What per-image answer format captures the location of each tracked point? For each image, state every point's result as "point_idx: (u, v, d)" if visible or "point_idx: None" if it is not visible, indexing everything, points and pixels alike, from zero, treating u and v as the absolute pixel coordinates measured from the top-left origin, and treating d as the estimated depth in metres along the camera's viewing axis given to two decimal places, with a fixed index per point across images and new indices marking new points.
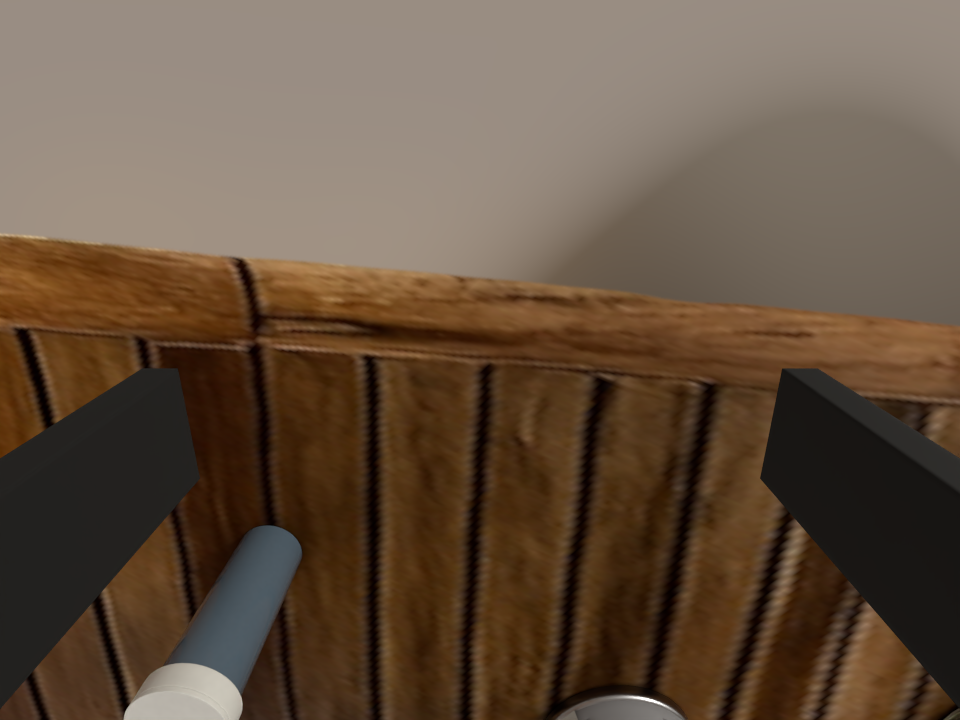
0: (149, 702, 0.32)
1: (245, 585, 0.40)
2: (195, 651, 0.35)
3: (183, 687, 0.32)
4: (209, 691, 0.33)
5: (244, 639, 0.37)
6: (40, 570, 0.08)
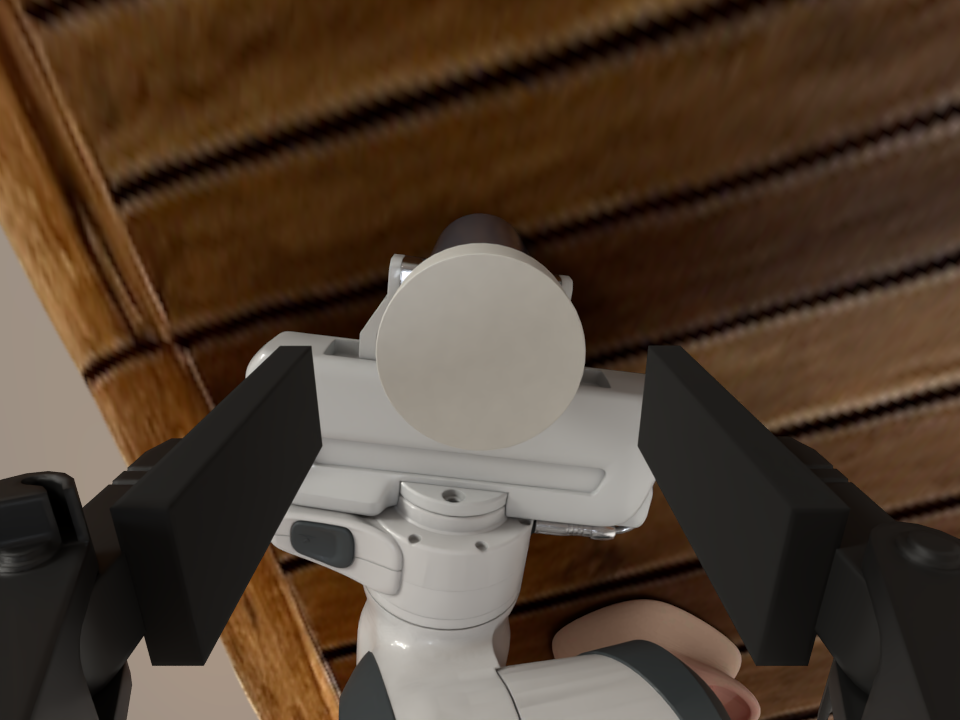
0: (423, 414, 0.17)
1: None
2: None
3: None
4: None
5: None
6: (246, 508, 0.10)
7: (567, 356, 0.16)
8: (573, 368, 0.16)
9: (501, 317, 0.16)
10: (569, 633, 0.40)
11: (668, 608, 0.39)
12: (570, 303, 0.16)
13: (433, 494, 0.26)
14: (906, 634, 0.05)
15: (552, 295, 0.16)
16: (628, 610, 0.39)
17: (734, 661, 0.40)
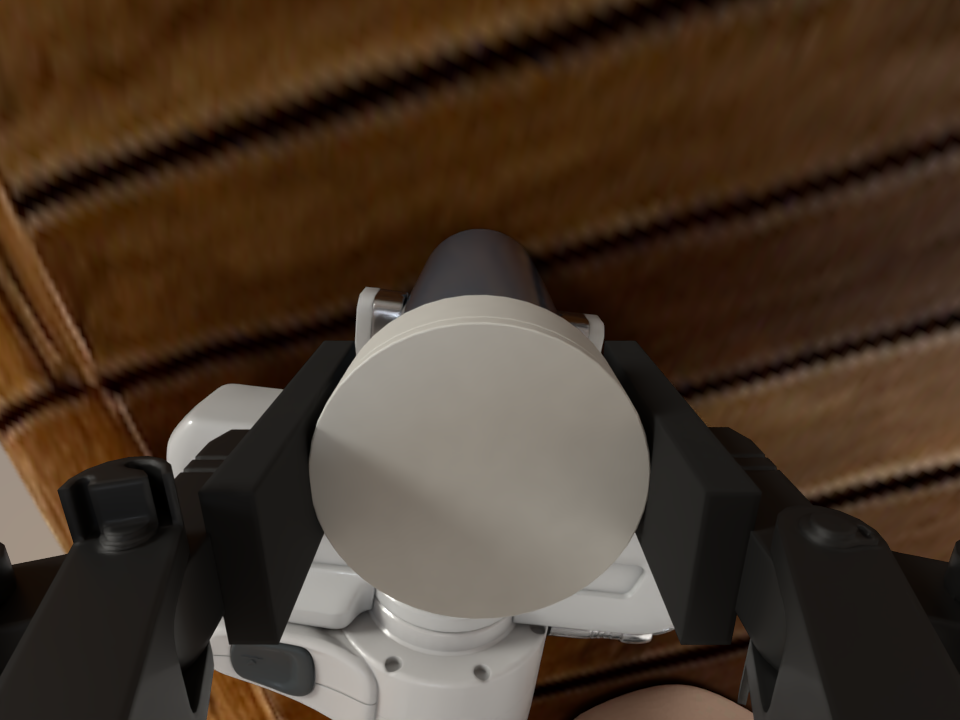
0: (388, 567, 0.11)
1: None
2: None
3: None
4: None
5: None
6: (308, 496, 0.10)
7: (620, 483, 0.10)
8: (630, 501, 0.10)
9: (513, 424, 0.10)
10: None
11: (704, 695, 0.33)
12: (628, 402, 0.09)
13: None
14: (806, 613, 0.06)
15: (599, 390, 0.09)
16: (657, 698, 0.33)
17: None
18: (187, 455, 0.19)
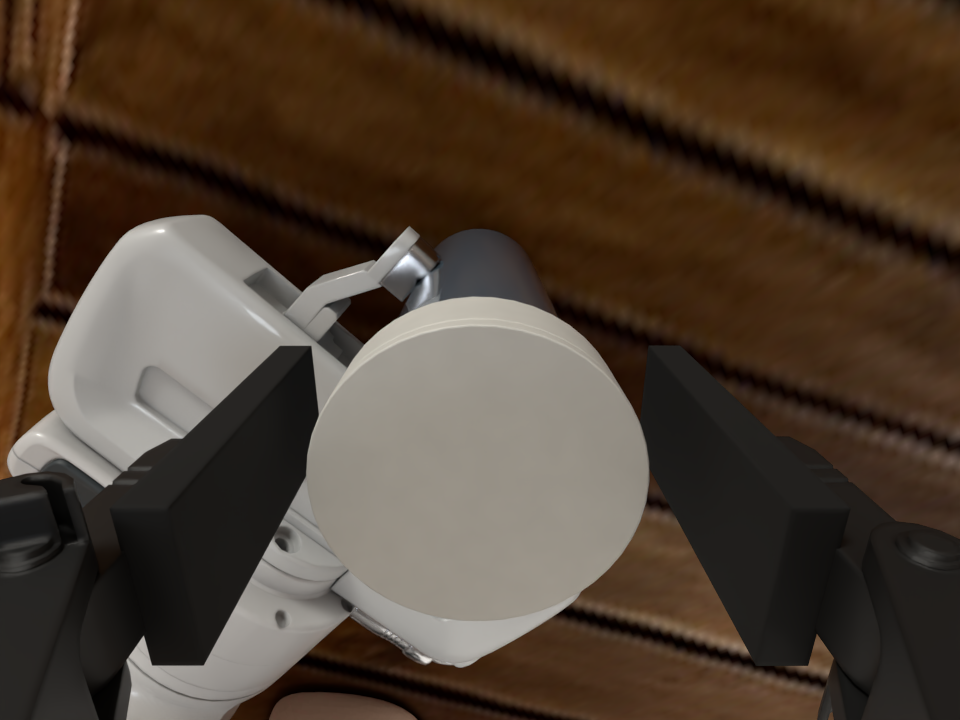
0: (506, 596, 0.11)
1: (414, 287, 0.18)
2: None
3: None
4: None
5: (449, 284, 0.14)
6: (246, 508, 0.10)
7: (558, 377, 0.09)
8: (583, 379, 0.09)
9: (435, 430, 0.10)
10: (303, 703, 0.33)
11: None
12: (478, 326, 0.09)
13: None
14: (906, 634, 0.05)
15: (447, 345, 0.09)
16: (378, 711, 0.33)
17: None
18: (139, 259, 0.17)
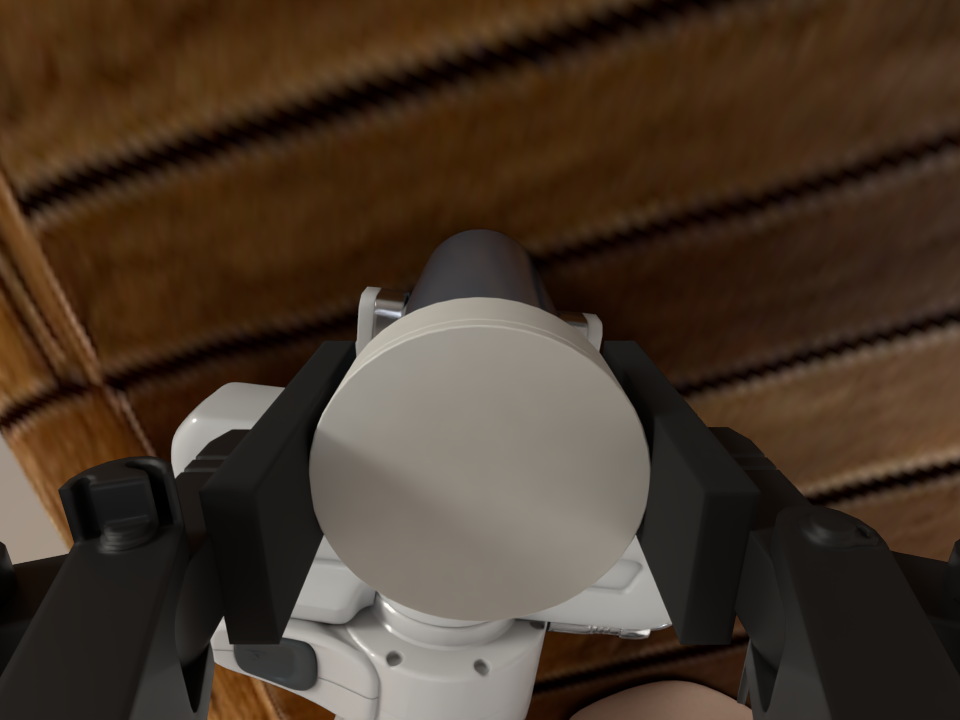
0: (579, 563, 0.11)
1: None
2: None
3: None
4: None
5: None
6: (308, 496, 0.10)
7: (467, 356, 0.09)
8: (489, 344, 0.09)
9: (407, 464, 0.10)
10: (585, 719, 0.34)
11: (703, 691, 0.33)
12: (371, 361, 0.09)
13: None
14: (806, 613, 0.06)
15: (360, 392, 0.09)
16: (656, 694, 0.33)
17: None
18: (191, 452, 0.19)
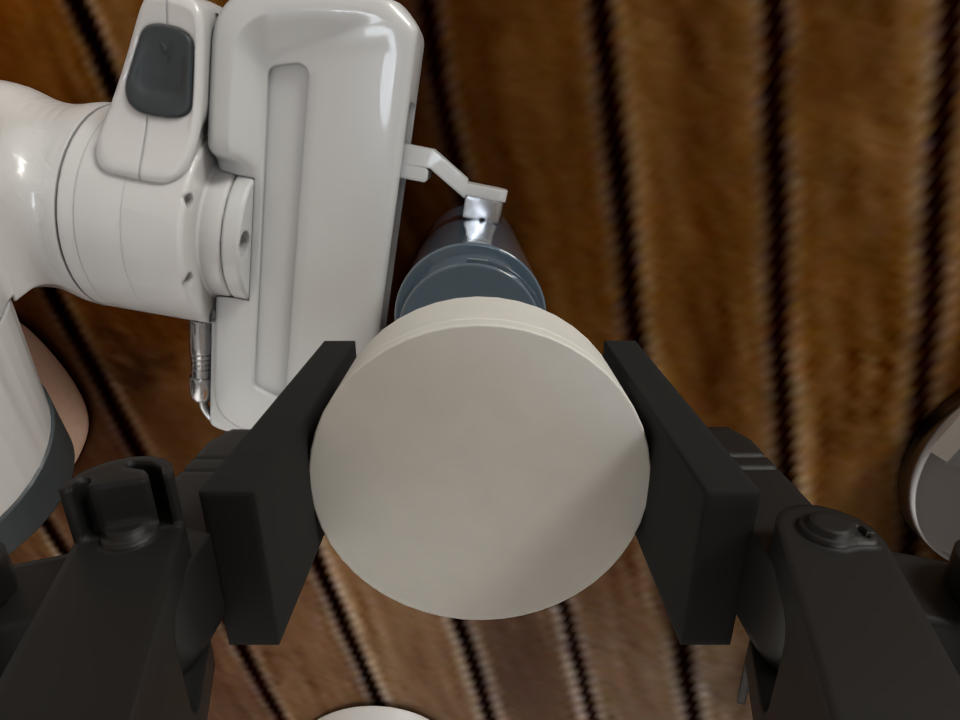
0: (579, 561, 0.11)
1: None
2: (452, 240, 0.19)
3: None
4: None
5: (515, 247, 0.21)
6: (308, 496, 0.10)
7: (467, 355, 0.09)
8: (489, 343, 0.09)
9: (407, 463, 0.10)
10: None
11: (80, 438, 0.35)
12: (371, 360, 0.09)
13: (244, 221, 0.23)
14: (806, 613, 0.06)
15: (360, 391, 0.09)
16: (70, 399, 0.34)
17: None
18: (384, 22, 0.21)
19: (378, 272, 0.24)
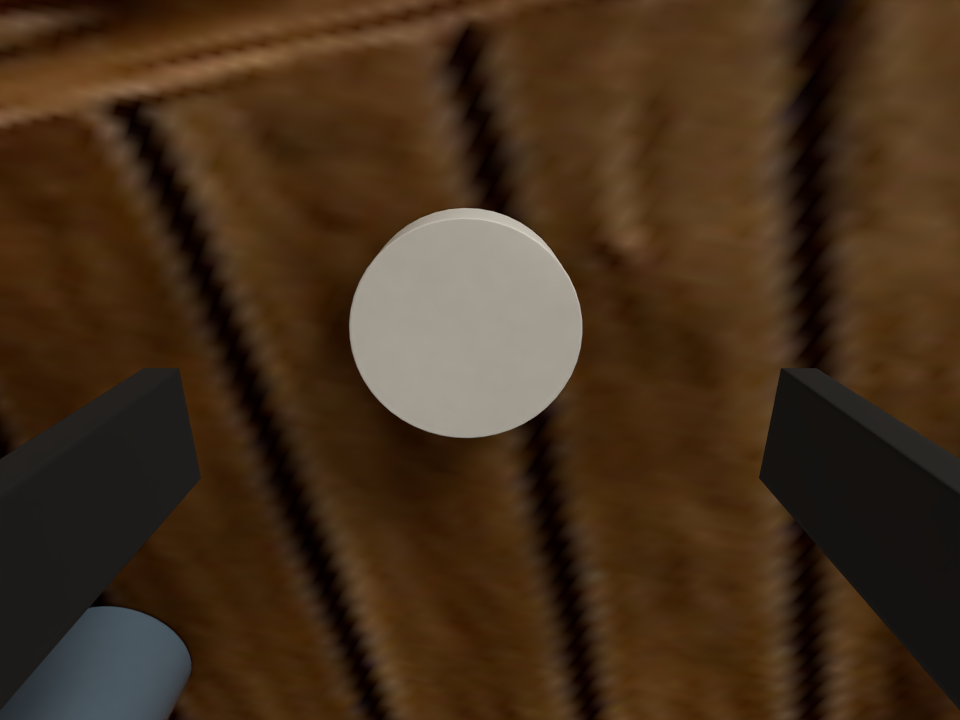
0: (535, 392, 0.15)
1: None
2: None
3: None
4: None
5: None
6: (42, 569, 0.08)
7: (456, 240, 0.14)
8: (470, 231, 0.14)
9: (416, 318, 0.15)
10: None
11: None
12: (392, 243, 0.14)
13: None
14: None
15: (385, 265, 0.14)
16: None
17: None
18: None
19: None
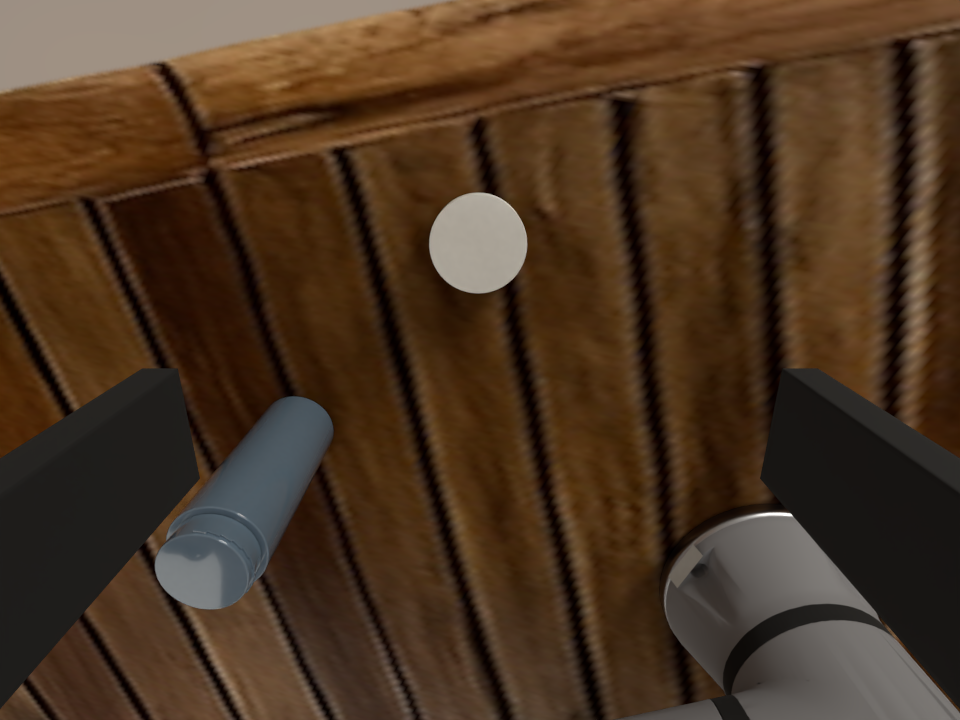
0: (507, 271, 0.36)
1: (262, 441, 0.34)
2: (205, 496, 0.29)
3: None
4: None
5: (266, 484, 0.31)
6: (40, 570, 0.08)
7: (474, 203, 0.34)
8: (480, 200, 0.34)
9: (457, 237, 0.35)
10: None
11: None
12: (448, 205, 0.34)
13: None
14: None
15: (445, 214, 0.34)
16: None
17: None
18: None
19: None
